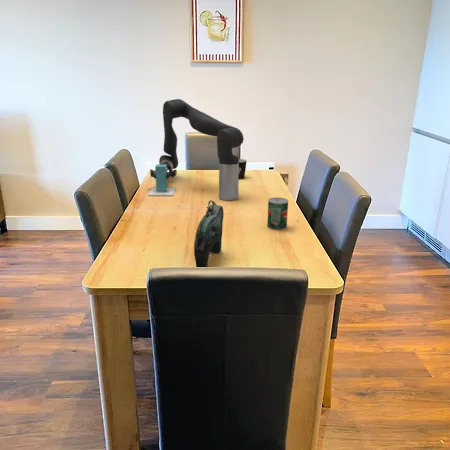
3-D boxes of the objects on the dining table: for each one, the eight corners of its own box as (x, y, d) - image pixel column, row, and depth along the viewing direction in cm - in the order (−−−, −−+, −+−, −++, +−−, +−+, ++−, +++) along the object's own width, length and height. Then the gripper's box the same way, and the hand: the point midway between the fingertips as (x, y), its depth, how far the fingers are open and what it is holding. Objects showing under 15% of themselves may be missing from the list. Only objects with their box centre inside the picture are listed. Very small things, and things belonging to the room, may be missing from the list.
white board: (175, 189, 229) (175, 188, 228) (173, 196, 217) (173, 194, 217) (152, 189, 229) (152, 187, 228) (148, 196, 217) (148, 194, 217)
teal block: (167, 187, 225) (166, 164, 220) (166, 190, 220) (165, 166, 216) (157, 187, 225) (156, 164, 220) (156, 190, 220) (155, 166, 216)
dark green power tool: (210, 247, 159) (210, 193, 152) (227, 249, 157) (228, 194, 150) (190, 270, 141) (189, 210, 134) (210, 273, 139) (209, 212, 132)
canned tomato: (289, 229, 176) (291, 202, 172) (269, 230, 175) (271, 203, 171) (283, 222, 184) (285, 197, 180) (265, 223, 182) (266, 197, 179)
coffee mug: (249, 177, 254) (249, 160, 250) (241, 180, 247) (241, 162, 243) (231, 174, 260) (231, 157, 256) (223, 177, 253) (223, 160, 249)
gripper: (151, 161, 232) (145, 169, 216) (178, 161, 232) (175, 169, 216) (151, 175, 235) (146, 184, 219) (179, 175, 235) (175, 184, 219)
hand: (160, 176), depth 217 cm, fingers closed on teal block, 5 cm apart
